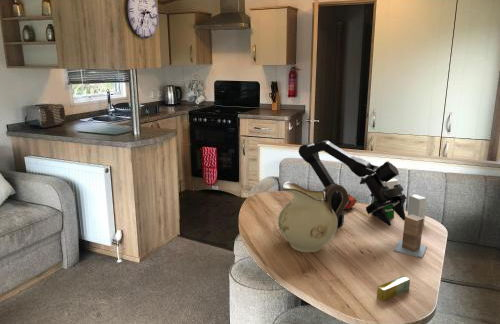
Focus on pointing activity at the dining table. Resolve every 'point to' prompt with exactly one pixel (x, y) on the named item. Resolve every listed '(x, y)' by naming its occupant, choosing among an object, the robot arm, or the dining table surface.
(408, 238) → the wooden block
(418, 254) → the slate-blue rubber mat
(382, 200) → the robot arm
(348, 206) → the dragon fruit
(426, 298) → the dining table surface
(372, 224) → the dining table surface
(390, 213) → the milk carton
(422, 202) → the skincare box
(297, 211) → the pitcher
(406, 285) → the medication box
